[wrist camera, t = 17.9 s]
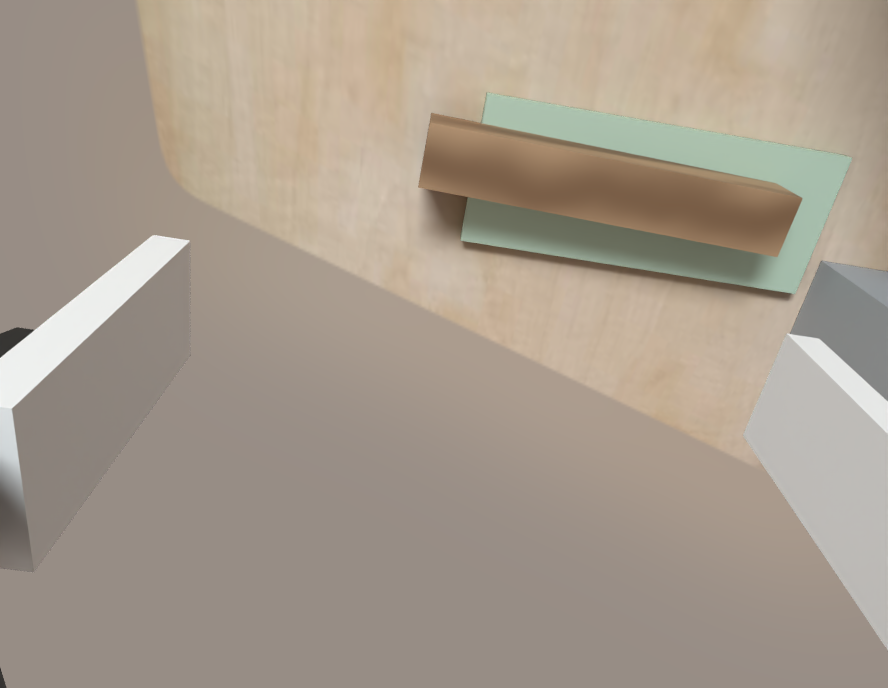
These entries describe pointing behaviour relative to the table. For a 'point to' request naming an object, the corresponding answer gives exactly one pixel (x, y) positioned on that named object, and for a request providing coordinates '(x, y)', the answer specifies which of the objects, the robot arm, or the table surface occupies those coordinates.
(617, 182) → the walnut bar
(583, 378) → the table surface
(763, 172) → the mat
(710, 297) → the table surface
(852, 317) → the stand
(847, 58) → the table surface
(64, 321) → the robot arm
